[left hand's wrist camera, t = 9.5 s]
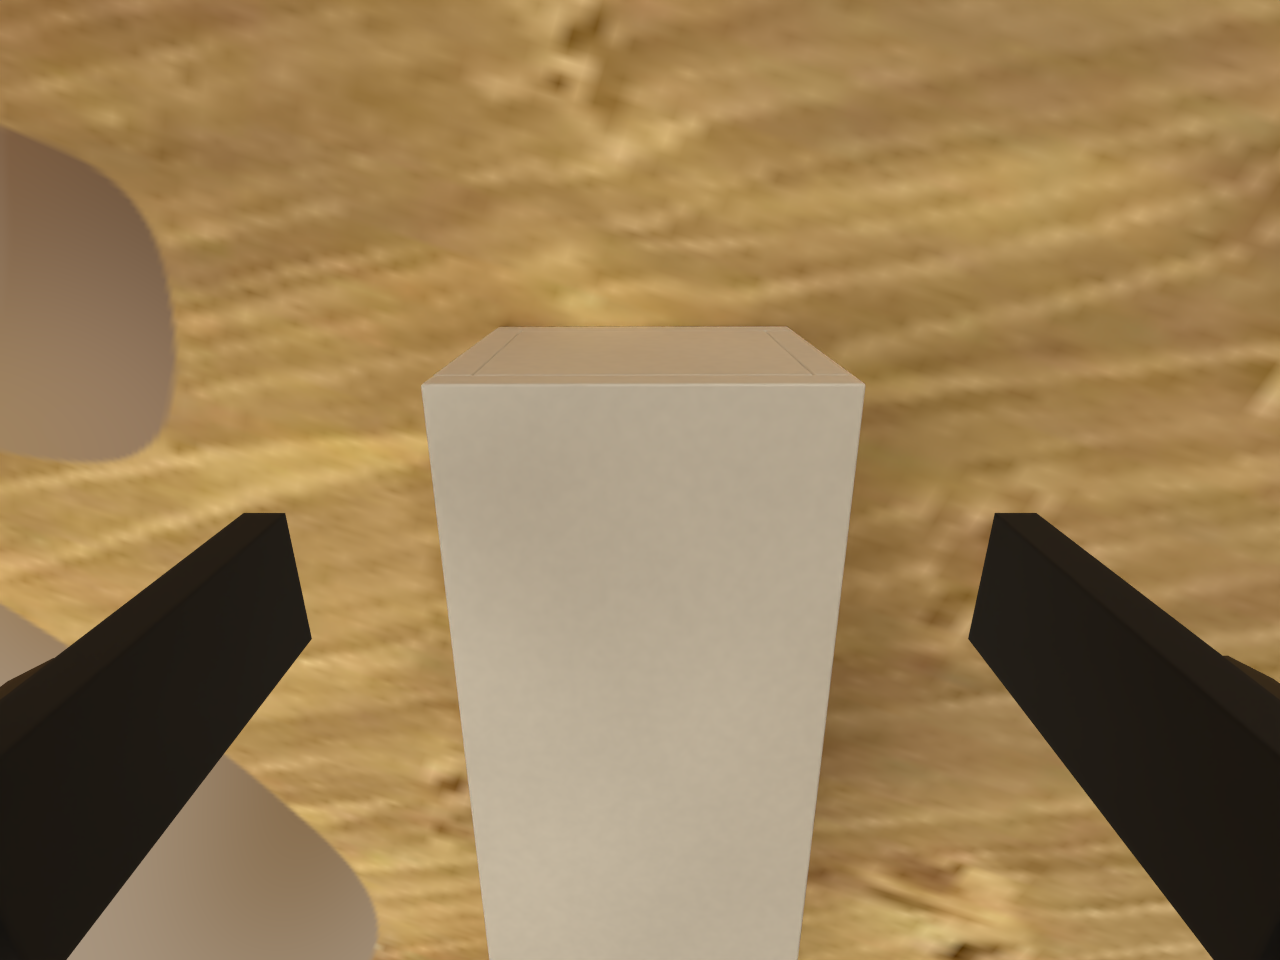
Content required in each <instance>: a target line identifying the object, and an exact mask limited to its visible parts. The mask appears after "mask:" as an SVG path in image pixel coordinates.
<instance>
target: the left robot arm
mask: <svg viewBox="0 0 1280 960" xmlns="http://www.w3.org/2000/svg"><path fill="white" fill-rule="evenodd" d="M311 639H312V638H311V633H310V628H309V624H308V619H307V614H306V609H305V605H304V600H303V595H302V591H301V586H300V581H299V576H298V572H297V567H296V562H295V558H294V553H293V548H292V543H291V539H290V534H289V529H288V525H287V520H286V515H285V513H243V514H242V515H241V516H239V517H238V518H237V519H235V520H234V521H233V522H231V523H230V524H229V525H228V526H226V527H225V528H224V529H222V530H221V531H220V532H218V533H217V534H216V535H214V536H213V537H212V538H211V539H209V540H208V541H207V542H205V543H204V544H203V545H201V546H200V547H199V548H198V549H196V550H195V551H194V552H192V553H191V554H190V555H188V556H187V557H186V558H184V559H183V560H182V561H181V562H179V563H178V564H177V565H175V566H174V567H173V568H171V569H170V570H169V571H167V572H166V573H165V574H164V575H162V576H161V577H160V578H158V579H157V580H156V581H154V582H153V583H152V584H151V585H149V586H148V587H147V588H145V589H144V590H143V591H141V592H140V593H139V594H137V595H136V596H135V597H134V598H132V599H131V600H130V601H128V602H127V603H126V604H124V605H123V606H122V607H121V608H119V609H118V610H117V611H115V612H114V613H113V614H111V615H110V616H109V617H107V618H106V619H105V620H104V621H102V622H101V623H100V624H98V625H97V626H96V627H94V628H93V629H92V630H91V631H89V632H88V633H87V634H85V635H84V636H83V637H81V638H80V639H79V640H77V641H76V642H75V643H74V644H72V645H71V646H70V647H68V648H67V649H66V650H64V651H63V652H62V653H61V654H59V655H58V656H57V657H55V658H53V659H51V660H49V661H47V662H45V663H43V664H41V665H39V666H37V667H35V668H33V669H31V670H29V671H27V672H25V673H23V674H21V675H19V676H17V677H15V678H13V679H11V680H10V681H8V682H6V683H5V684H4V685H2V686H1V687H0V960H67V958H68V957H69V956H70V954H71V953H72V952H73V950H74V949H75V948H76V946H77V945H78V944H79V942H80V941H81V940H82V939H83V937H84V936H85V935H86V933H87V932H88V931H89V929H90V928H91V927H92V925H93V924H94V923H95V921H96V920H97V919H98V918H99V916H100V915H101V914H102V912H103V911H104V910H105V908H106V907H107V906H108V905H109V903H110V902H111V901H112V899H113V898H114V897H115V895H116V894H117V893H118V891H119V890H120V889H121V888H122V886H123V885H124V884H125V882H126V881H127V880H128V878H129V877H130V876H131V874H132V873H133V872H134V871H135V869H136V868H137V867H138V865H139V864H140V863H141V861H142V860H143V859H144V857H145V856H146V855H147V854H148V852H149V851H150V850H151V848H152V847H153V846H154V844H155V843H156V842H157V840H158V839H159V838H160V837H161V835H162V834H163V833H164V831H165V830H166V829H167V827H168V826H169V825H170V823H171V822H172V821H173V820H174V818H175V817H176V815H177V814H178V813H179V812H180V810H181V809H182V808H183V806H184V805H185V804H186V802H187V801H188V800H189V799H190V797H191V796H192V795H193V793H194V792H195V791H196V789H197V788H198V787H199V785H200V784H201V783H202V782H203V780H204V779H205V778H206V776H207V775H208V774H209V772H210V771H211V770H212V769H213V767H214V766H215V765H216V763H217V762H218V761H219V759H220V758H221V757H222V755H223V754H224V753H225V752H226V750H227V749H228V748H229V746H230V745H231V744H232V742H233V741H234V740H235V738H236V737H237V736H238V735H239V733H240V732H241V731H242V729H243V728H244V727H245V725H246V724H247V723H248V721H249V720H250V719H251V718H252V716H253V715H254V714H255V712H256V711H257V710H258V708H259V707H260V706H261V704H262V703H263V702H264V701H265V699H266V698H267V697H268V695H269V694H270V693H271V691H272V690H273V689H274V687H275V686H276V685H277V684H278V682H279V681H280V680H281V678H282V677H283V676H284V674H285V673H286V672H287V670H288V669H289V668H290V667H291V665H292V664H293V663H294V661H295V660H296V659H297V657H298V656H299V655H300V653H301V652H302V651H303V650H304V648H305V647H306V646H307V644H308V643H309V642H310V640H311ZM968 639H969V640H970V642H971V643H972V644H973V646H974V647H975V648H976V650H977V651H978V652H979V653H980V655H981V656H982V657H983V659H984V660H985V661H986V663H987V664H988V665H989V667H990V668H991V669H992V670H993V672H994V673H995V674H996V676H997V677H998V678H999V680H1000V681H1001V682H1002V684H1003V685H1004V686H1005V687H1006V689H1007V690H1008V691H1009V693H1010V694H1011V695H1012V697H1013V698H1014V699H1015V701H1016V702H1017V703H1018V704H1019V706H1020V707H1021V708H1022V710H1023V711H1024V712H1025V714H1026V715H1027V716H1028V718H1029V719H1030V720H1031V721H1032V723H1033V724H1034V725H1035V727H1036V728H1037V729H1038V731H1039V732H1040V733H1041V735H1042V736H1043V737H1044V738H1045V740H1046V741H1047V742H1048V744H1049V745H1050V746H1051V748H1052V749H1053V750H1054V752H1055V753H1056V754H1057V755H1058V757H1059V758H1060V759H1061V761H1062V762H1063V763H1064V765H1065V766H1066V767H1067V769H1068V770H1069V771H1070V772H1071V774H1072V775H1073V776H1074V778H1075V779H1076V780H1077V782H1078V783H1079V784H1080V786H1081V787H1082V788H1083V789H1084V791H1085V792H1086V793H1087V795H1088V796H1089V797H1090V799H1091V800H1092V801H1093V803H1094V804H1095V805H1096V806H1097V808H1098V809H1099V810H1100V812H1101V813H1102V814H1103V816H1104V817H1105V818H1106V820H1107V821H1108V822H1109V823H1110V825H1111V826H1112V827H1113V829H1114V830H1115V831H1116V833H1117V834H1118V835H1119V837H1120V838H1121V839H1122V840H1123V842H1124V843H1125V844H1126V846H1127V847H1128V848H1129V850H1130V851H1131V852H1132V854H1133V855H1134V856H1135V857H1136V859H1137V860H1138V861H1139V863H1140V864H1141V865H1142V867H1143V868H1144V869H1145V871H1146V872H1147V873H1148V874H1149V876H1150V877H1151V878H1152V880H1153V881H1154V882H1155V884H1156V885H1157V886H1158V888H1159V889H1160V890H1161V891H1162V893H1163V894H1164V895H1165V897H1166V898H1167V899H1168V901H1169V902H1170V903H1171V905H1172V906H1173V907H1174V908H1175V910H1176V911H1177V912H1178V914H1179V915H1180V916H1181V918H1182V919H1183V920H1184V922H1185V923H1186V924H1187V925H1188V927H1189V928H1190V929H1191V931H1192V932H1193V933H1194V935H1195V936H1196V937H1197V939H1198V940H1199V941H1200V943H1201V944H1202V945H1203V946H1204V948H1205V949H1206V950H1207V952H1208V953H1209V954H1210V956H1211V957H1212V958H1213V960H1280V683H1278V682H1277V681H1275V680H1274V679H1272V678H1271V677H1269V676H1267V675H1265V674H1263V673H1261V672H1259V671H1257V670H1255V669H1253V668H1251V667H1249V666H1247V665H1245V664H1243V663H1241V662H1239V661H1237V660H1235V659H1233V658H1231V657H1229V656H1222V655H1221V654H1220V653H1218V652H1217V651H1216V650H1214V649H1213V648H1212V647H1210V646H1209V645H1208V644H1206V643H1205V642H1204V641H1203V640H1201V639H1200V638H1199V637H1197V636H1196V635H1195V634H1193V633H1192V632H1191V631H1189V630H1188V629H1187V628H1186V627H1184V626H1183V625H1182V624H1180V623H1179V622H1178V621H1176V620H1175V619H1174V618H1173V617H1171V616H1170V615H1169V614H1167V613H1166V612H1165V611H1163V610H1162V609H1161V608H1159V607H1158V606H1157V605H1156V604H1154V603H1153V602H1152V601H1150V600H1149V599H1148V598H1146V597H1145V596H1144V595H1143V594H1141V593H1140V592H1139V591H1137V590H1136V589H1135V588H1133V587H1132V586H1131V585H1129V584H1128V583H1127V582H1126V581H1124V580H1123V579H1122V578H1120V577H1119V576H1118V575H1116V574H1115V573H1114V572H1113V571H1111V570H1110V569H1109V568H1107V567H1106V566H1105V565H1103V564H1102V563H1101V562H1099V561H1098V560H1097V559H1096V558H1094V557H1093V556H1092V555H1090V554H1089V553H1088V552H1086V551H1085V550H1084V549H1082V548H1081V547H1080V546H1079V545H1077V544H1076V543H1075V542H1073V541H1072V540H1071V539H1069V538H1068V537H1067V536H1066V535H1064V534H1063V533H1062V532H1060V531H1059V530H1058V529H1056V528H1055V527H1054V526H1052V525H1051V524H1050V523H1049V522H1047V521H1046V520H1045V519H1043V518H1042V517H1041V516H1039V515H1038V514H1037V513H995V515H994V520H993V525H992V529H991V534H990V539H989V543H988V548H987V553H986V558H985V562H984V567H983V572H982V576H981V581H980V586H979V591H978V595H977V600H976V605H975V609H974V614H973V619H972V624H971V628H970V633H969V638H968Z"/></svg>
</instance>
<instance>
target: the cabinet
mask: <svg viewBox="0 0 1280 960" xmlns="http://www.w3.org/2000/svg"><path fill="white" fill-rule="evenodd" d="M421 389H422V398H423V406H424V415H425V423H426V432H427V440H428V448H429V457H430V465H431V474H432V482H433V490H434V499H435V507H436V516H437V524H438V532H439V541H440V549H441V558H442V566H443V574H444V583H445V591H446V600H447V608H448V616H449V625H450V633H451V642H452V650H453V659H454V667H455V675H456V684H457V692H458V701H459V709H460V717H461V726H462V734H463V743H464V751H465V759H466V768H467V776H468V785H469V793H470V801H471V810H472V818H473V827H474V835H475V844H476V852H477V860H478V869H479V877H480V886H481V894H482V902H483V911H484V919H485V928H486V936H487V944H488V953H489V960H798V953H799V945H800V936H801V928H802V919H803V911H804V903H805V894H806V886H807V877H808V869H809V860H810V852H811V843H812V835H813V826H814V818H815V809H816V801H817V792H818V784H819V775H820V767H821V758H822V750H823V742H824V733H825V725H826V716H827V708H828V699H829V691H830V682H831V674H832V665H833V657H834V648H835V640H836V631H837V623H838V614H839V606H840V597H841V589H842V581H843V572H844V564H845V555H846V547H847V538H848V530H849V521H850V513H851V504H852V496H853V487H854V479H855V470H856V462H857V453H858V445H859V436H860V428H861V419H862V411H863V403H864V394H865V383H863V382H862V381H860V380H859V379H858V378H856V377H855V376H853V375H852V374H851V373H849V372H848V371H847V370H845V369H844V368H843V367H841V366H840V365H838V364H837V363H836V362H834V361H833V360H832V359H830V358H829V357H828V356H826V355H825V354H823V353H822V352H821V351H819V350H818V349H817V348H815V347H814V346H813V345H811V344H810V343H808V342H807V341H806V340H804V339H803V338H802V337H800V336H799V335H798V334H796V333H795V332H794V331H792V330H791V329H790V328H788V327H786V326H750V327H498V328H497V329H496V330H494V331H492V332H491V333H490V334H488V335H487V336H486V337H484V338H483V339H482V340H480V341H479V342H478V343H476V344H475V345H473V346H472V347H471V348H469V349H468V350H467V351H465V352H464V353H463V354H461V355H460V356H459V357H457V358H456V359H455V360H453V361H452V362H450V363H449V364H448V365H446V366H445V367H444V368H442V369H441V370H440V371H438V372H437V373H436V374H434V375H433V377H431V378H430V379H428V380H427V381H426V382H424V383H423V384H422V386H421Z"/></svg>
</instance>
